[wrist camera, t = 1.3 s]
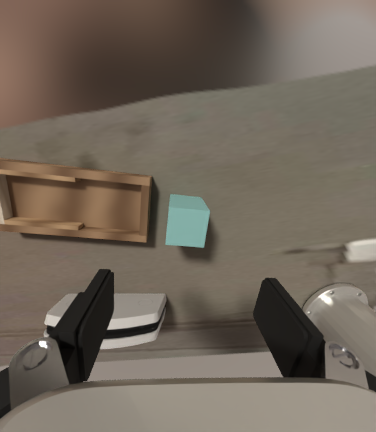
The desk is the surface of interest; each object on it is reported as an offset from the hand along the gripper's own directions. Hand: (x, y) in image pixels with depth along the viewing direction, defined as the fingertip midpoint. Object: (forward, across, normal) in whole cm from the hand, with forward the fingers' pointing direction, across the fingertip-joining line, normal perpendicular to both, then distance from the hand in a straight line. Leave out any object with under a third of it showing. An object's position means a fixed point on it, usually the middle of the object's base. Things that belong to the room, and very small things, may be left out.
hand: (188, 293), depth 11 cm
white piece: (+17, +9, +16) cm, 25 cm away
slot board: (+17, +14, 0) cm, 22 cm away
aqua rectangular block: (+17, -1, 0) cm, 17 cm away
